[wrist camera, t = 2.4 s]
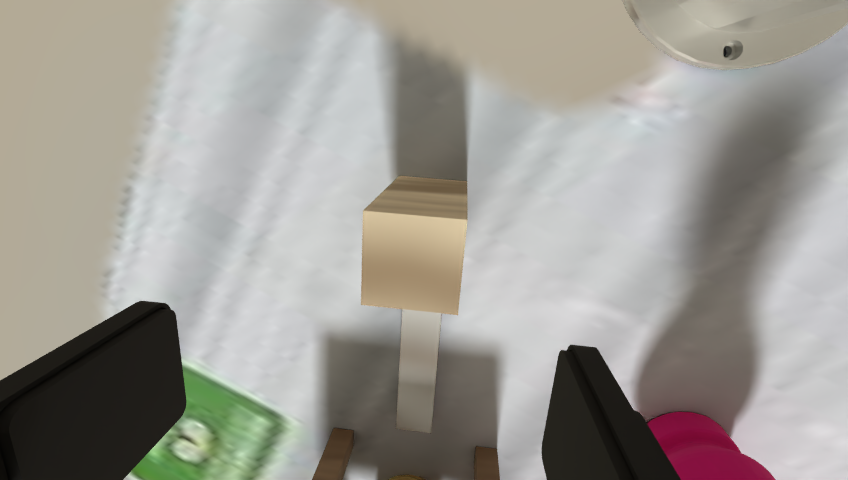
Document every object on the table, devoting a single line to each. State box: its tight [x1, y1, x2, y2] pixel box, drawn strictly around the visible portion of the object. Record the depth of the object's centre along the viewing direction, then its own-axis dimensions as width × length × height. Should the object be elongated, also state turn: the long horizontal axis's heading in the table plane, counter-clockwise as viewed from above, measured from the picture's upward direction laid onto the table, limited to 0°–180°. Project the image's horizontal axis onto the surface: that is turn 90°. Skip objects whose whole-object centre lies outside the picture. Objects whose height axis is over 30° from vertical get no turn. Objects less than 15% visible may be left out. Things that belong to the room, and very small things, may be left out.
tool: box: [361, 176, 467, 433], centre depth 22 cm, size 17×4×9 cm, turn 176°
